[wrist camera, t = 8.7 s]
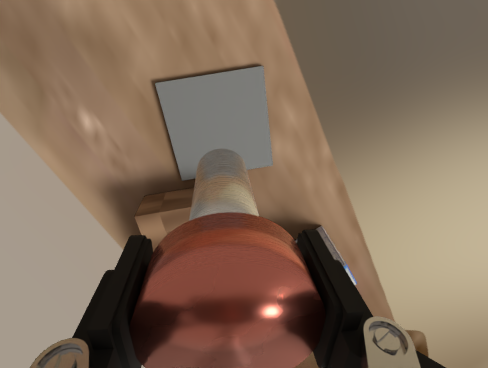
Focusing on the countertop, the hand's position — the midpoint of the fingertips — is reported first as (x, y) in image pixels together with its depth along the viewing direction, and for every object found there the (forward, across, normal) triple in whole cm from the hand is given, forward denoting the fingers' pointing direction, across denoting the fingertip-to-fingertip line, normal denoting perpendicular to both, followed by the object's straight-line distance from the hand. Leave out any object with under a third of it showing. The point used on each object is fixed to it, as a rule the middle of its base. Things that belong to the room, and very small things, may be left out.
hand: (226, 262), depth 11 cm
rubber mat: (+23, 0, 0) cm, 23 cm away
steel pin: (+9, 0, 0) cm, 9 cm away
